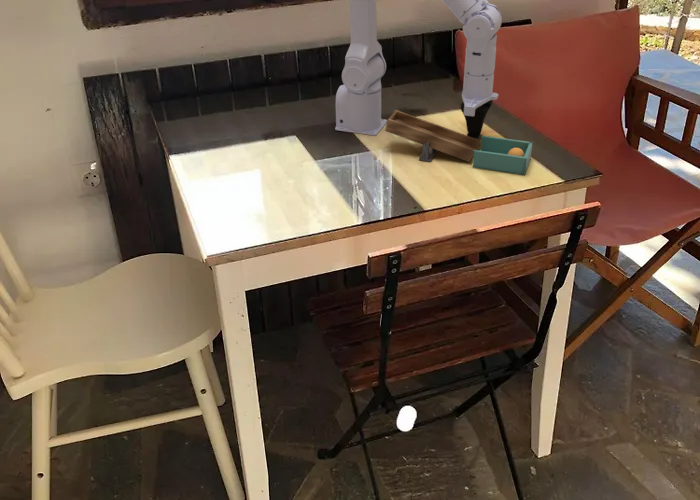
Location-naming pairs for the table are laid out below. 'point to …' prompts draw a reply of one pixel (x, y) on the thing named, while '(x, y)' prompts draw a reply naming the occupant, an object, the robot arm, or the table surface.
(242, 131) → the table surface
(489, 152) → the teal open-ended tray
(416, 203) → the table surface
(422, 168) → the table surface
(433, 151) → the fulcrum
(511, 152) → the ball
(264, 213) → the table surface
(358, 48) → the robot arm
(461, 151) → the lever
